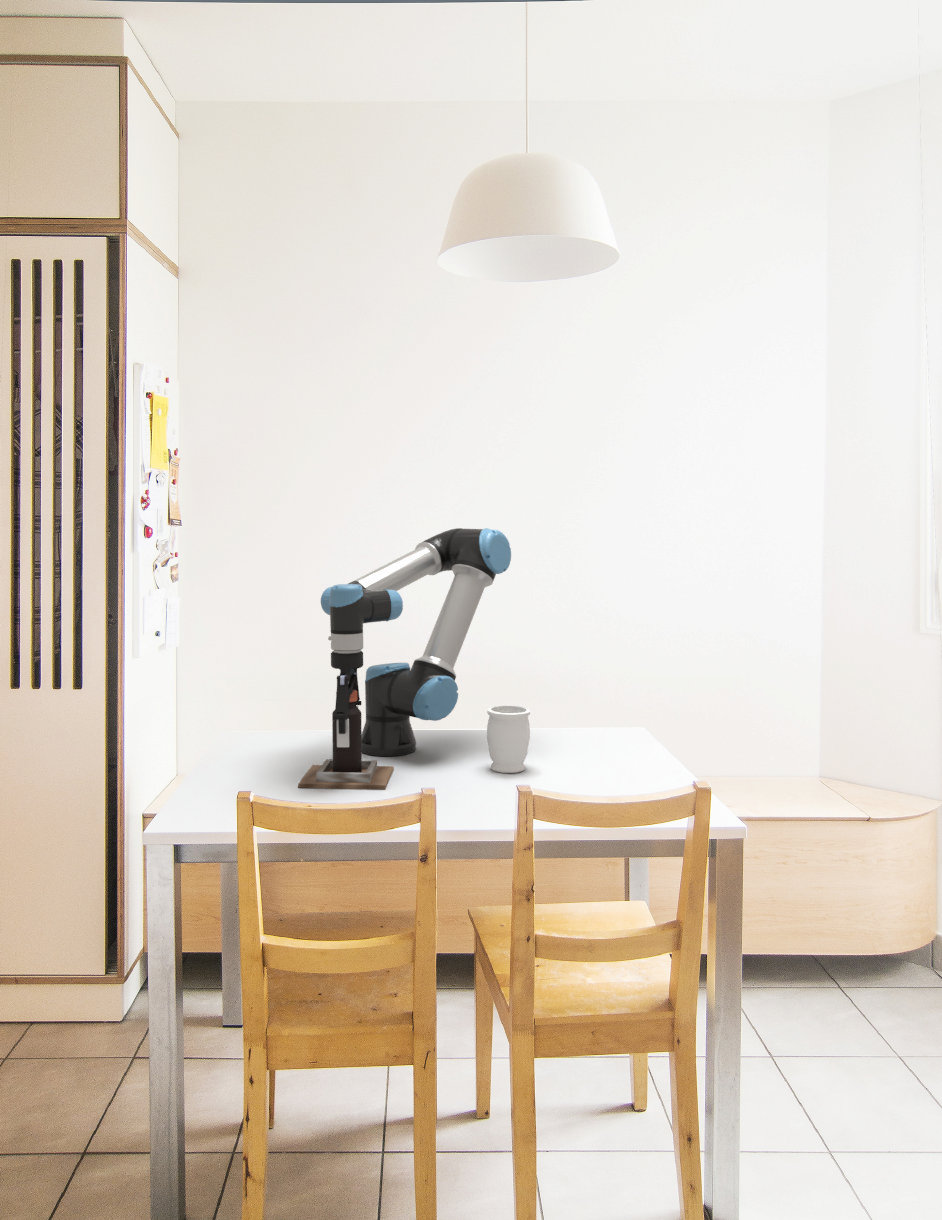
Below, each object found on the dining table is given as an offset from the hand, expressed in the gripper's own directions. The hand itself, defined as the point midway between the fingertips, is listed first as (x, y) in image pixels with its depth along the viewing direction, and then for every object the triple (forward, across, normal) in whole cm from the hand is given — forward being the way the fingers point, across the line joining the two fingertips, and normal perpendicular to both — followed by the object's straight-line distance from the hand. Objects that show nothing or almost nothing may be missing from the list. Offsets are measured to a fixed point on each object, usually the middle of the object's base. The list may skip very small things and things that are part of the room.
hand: (348, 739), depth 218 cm
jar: (+10, -11, +38) cm, 41 cm away
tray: (+9, 0, 0) cm, 9 cm away
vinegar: (+9, 0, 0) cm, 9 cm away
